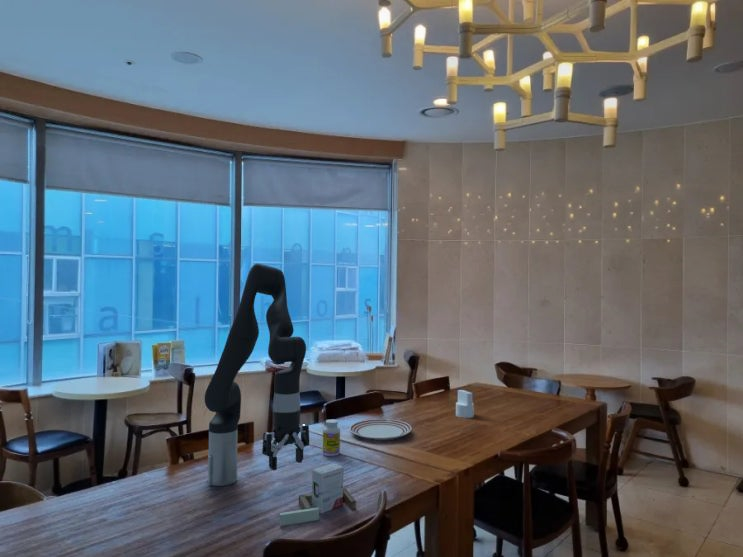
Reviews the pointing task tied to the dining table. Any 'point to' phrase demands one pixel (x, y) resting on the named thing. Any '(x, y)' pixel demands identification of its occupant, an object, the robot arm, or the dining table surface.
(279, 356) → the robot arm
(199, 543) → the dining table surface
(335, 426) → the supplement bottle
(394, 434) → the dinner plate
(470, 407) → the base with upright slab
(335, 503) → the ink box
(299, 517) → the pale green bar
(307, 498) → the rack bay
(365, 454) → the dining table surface
